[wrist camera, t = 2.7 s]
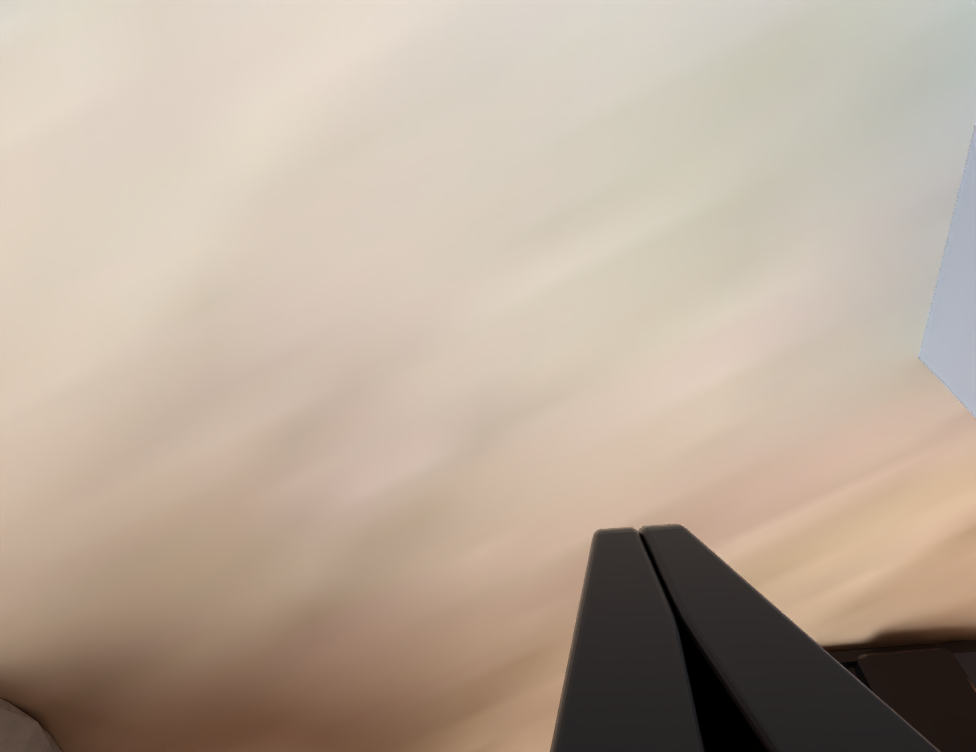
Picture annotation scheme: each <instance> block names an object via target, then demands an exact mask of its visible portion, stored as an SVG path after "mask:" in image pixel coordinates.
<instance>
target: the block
mask: <svg viewBox="0 0 976 752" xmlns="http://www.w3.org/2000/svg"><path fill="white" fill-rule="evenodd" d="M918 358H919V359H920V360H921V361H922V362H923V363H924V364H925V365H926V366H927V367H928V369H929V370H930V371H931V372H932V373H933V374H934V375H935V376H936V377H937V378H938V379H939V380H940V381H941V382H942V383H943V384H944V385H945V386H946V387H947V389H948V390H949V391H950V392H951V393H952V394H953V395H954V396H955V397H956V398H957V399H958V400H959V401H960V402H961V403H962V404H963V405H964V406H965V407H966V409H967V410H968V411H969V412H970V413H971V414H972V415H973V416H974V417H975V418H976V124H975V128H974V132H973V136H972V140H971V144H970V148H969V152H968V156H967V160H966V164H965V169H964V173H963V177H962V181H961V185H960V189H959V193H958V197H957V201H956V205H955V209H954V213H953V218H952V222H951V226H950V230H949V234H948V238H947V242H946V246H945V250H944V254H943V258H942V263H941V267H940V271H939V275H938V279H937V283H936V287H935V291H934V295H933V299H932V303H931V307H930V312H929V316H928V320H927V324H926V328H925V332H924V336H923V340H922V344H921V348H920V352H919V357H918Z"/></svg>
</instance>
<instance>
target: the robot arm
mask: <svg viewBox="0 0 976 752" xmlns="http://www.w3.org/2000/svg"><path fill="white" fill-rule="evenodd" d="M550 752H976V640H974V641H961V642H949V643H936V644H924V645H911V646H899V647H886V648H874V649H861V650H849V651H836V652H827V651H825V650H824V649H823V648H822V647H821V646H820V645H819V644H817V643H816V642H815V641H814V640H813V639H812V638H811V637H809V636H808V635H807V634H806V633H805V632H804V631H803V630H801V629H800V628H799V627H798V626H797V625H796V624H795V623H794V622H792V621H791V620H790V619H789V618H788V617H787V616H786V615H784V614H783V613H782V612H781V611H780V610H779V609H778V608H776V607H775V606H774V605H773V604H772V603H771V602H770V601H768V600H767V599H766V598H765V597H764V596H763V595H762V594H760V593H759V592H758V591H757V590H756V589H755V588H754V587H753V586H751V585H750V584H749V583H748V582H747V581H746V580H745V579H743V578H742V577H741V576H740V575H739V574H738V573H737V572H735V571H734V570H733V569H732V568H731V567H730V566H729V565H727V564H726V563H725V562H724V561H723V560H722V559H721V558H720V557H718V556H717V555H716V554H715V553H714V552H713V551H712V550H710V549H709V548H708V547H707V546H706V545H705V544H704V543H702V542H701V541H700V540H699V539H698V538H697V537H696V536H694V535H693V534H692V533H691V532H690V531H689V530H688V529H686V528H685V527H683V526H681V525H679V524H667V525H652V526H644V527H642V528H641V529H639V531H637V530H636V529H634V528H632V527H624V528H610V529H599V530H597V531H596V532H595V533H594V535H593V539H592V544H591V549H590V554H589V559H588V564H587V569H586V574H585V579H584V584H583V589H582V594H581V599H580V604H579V609H578V614H577V619H576V624H575V629H574V634H573V639H572V644H571V649H570V654H569V659H568V664H567V669H566V674H565V679H564V684H563V689H562V694H561V699H560V704H559V709H558V714H557V719H556V724H555V729H554V734H553V739H552V744H551V749H550Z"/></svg>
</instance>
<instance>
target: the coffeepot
mask: <svg viewBox="0 0 976 752" xmlns="http://www.w3.org/2000/svg"><path fill="white" fill-rule="evenodd" d="M0 752H62V751H61V750H60V748H59V747H58V745H57V744H56V742H55V741H54V740H53V738H52V737H51V735H50V734H49V733H48V732H47V731H46V730H45V729H43V728H42V727H41V726H40V725H39V723H38V722H37V721H35V720H34V719H33V718H32V717H30V716H29V715H27V714H25V713H24V712H22V711H21V710H19V709H18V708H16V707H15V706H13V705H12V704H10V703H9V702H7V701H5V700H3V699H0Z"/></svg>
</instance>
